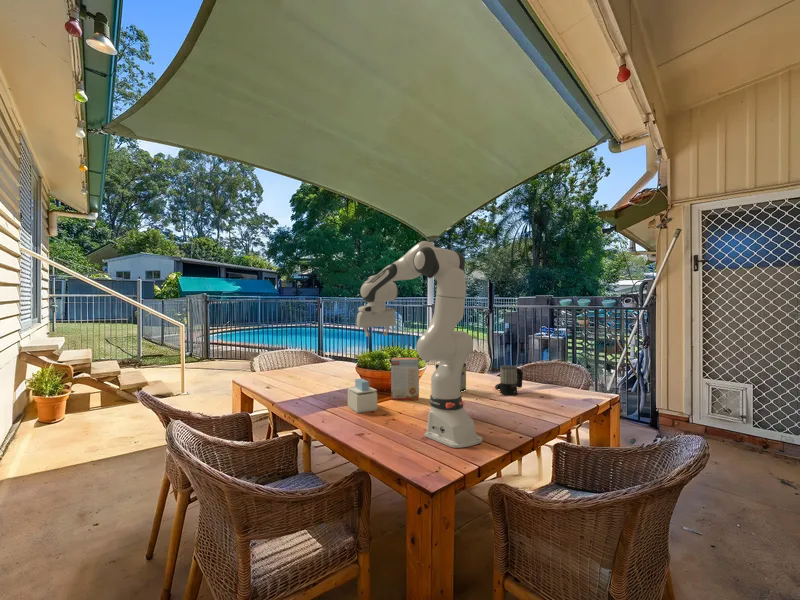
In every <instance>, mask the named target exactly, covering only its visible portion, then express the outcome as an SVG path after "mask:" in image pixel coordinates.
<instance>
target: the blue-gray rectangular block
mask: <svg viewBox="0 0 800 600" xmlns="http://www.w3.org/2000/svg"><path fill="white" fill-rule="evenodd" d="M354 380H355V381H354V383H355V386H354V387H355V388H357V389H359V390H361V391H369V387H370V381H368V380H366V379H365V378H355V379H354Z"/></svg>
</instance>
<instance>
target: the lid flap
mask: <svg viewBox="0 0 800 600" xmlns="http://www.w3.org/2000/svg"><path fill="white" fill-rule="evenodd" d="M347 390H351V391H353V392H355V393H357V394H360V393H367V392H374V391H375V392H377V391H378V390H377V389H376V388H373V387H371V386H369V391H361V390H359V389H357V388H355V386H353V387H348V388H347Z"/></svg>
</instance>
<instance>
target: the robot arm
mask: <svg viewBox="0 0 800 600" xmlns="http://www.w3.org/2000/svg"><path fill="white" fill-rule="evenodd" d="M465 267H466V262H465V257H464V255H463V254H462V253H461V252H459V251H457V250H454V249H447V248H443V247H436V246H435V245H434V244H433V243H432V242H430V241H428V240H423V241H420V242H417V244H415V245H414V246H413V247H411V249H409V250H408V251H407V252H405V254H404V255H403V256H401V257H400V258H399V259H398V260H396V261H394V262H392V263H391V264H388V265H387V266H385V267H384V268H383V269H382V270H380V271H379V272H378V273H376V274H373V275H371V276H369V277H368V279H367V280H365V281H364V282H363V283H362V284H361V287H360V289H359V293H360V294H359V295H360V297H361V298H362V299H363V301H365V302H366V303H367V304H365V305H362V306H359V307H358V309H357V310H358V313H357V315H356V320H355V321H356V323H355V324H356V327H357V328H363V331H364V333H365V337H367V338H368V337H371V336H370V335H371V332H368V328H376V327H378V328H379V327H384V331H383V332H382V335H383V336H388V332H389V330H390V327H395V326H396V324H397V321H396V320H397V319H396V309H394V308H393V307H386V302H393V301H395V300H396V299H397V297H398V295H399V287H398V285H397V284H396V283H395V282H397V281H405V280H406V281H407V280H408V281H409V280H413V279H416V278H419V277H420V276H421V275H423V276H425V277H426V278H428V279H432V278H435V280H436V283H437V284H436V285H437V286H436V293H435V302H434V310H433V315H432V318H431V321H430V323H429V325H428V327H427V328H426V330H425V332H424V333H423V334H422V335H421V336H419V338H418V339H417V343H416V351H417V355H418V357H420V359H421V360H423V361H425V362H431V363H432V362H434V363H436V362H437V363H438V362H439V363H438V364H439V366H438V368H437V369H436V368H435V371H434V372H433V373H432V375H431V378H430V379H431V385H430V386H431V389H430V391H431V393H430V396H429V397H430V398H429V404H430V409H429V412H428V415H427V423H426V431H425V432H424V437H426V438H428V439H430V440H433V441H434V442H435V441H436V442H438V443H440V444H443V445H445V446H448V447H450V448H451V449H452V448H454V449H457V448H459V449H461V448H466V447H471V446H476V445H478V444H480V443H483V441H484V440H483V437H482V436H481V435H479V434H478V433H477V432H476V430H477V429H476V424H475V422H474V419H473V418H471V417H470V415H469V414H468V413H467V411H466V410H465V408H464V405H465V400H463V399H462V396H461V393H460V380H461V373H462V369H463V366H464V363H466V361H467V358H468V357H469V356H470V355H471V354H472V351H473V349H474V340H473V338H472V336H471V335H470V334H469V333H468V332H467V331H466V332H465V331H462V330H455V328H456V326H457V325H458V324H459V323H460V322H461V321H462V320H463V318H464V314H465V313H464V311H465V304H466V303H465V302H466V293H467V292H466V291H467V284H466V274H465V272H464V270H465Z"/></svg>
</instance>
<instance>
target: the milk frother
mask: <svg viewBox="0 0 800 600" xmlns="http://www.w3.org/2000/svg"><path fill="white" fill-rule="evenodd" d="M499 367H500V368H499V369H500V371H499V372H500V383H498V384H495V386H494V389H495V388H496V390H497V389H500V390H499V394H500V393H502V394H504V395H503V396H507V395H514V396H517V395H518V388H520V389H521V388H523V375H524V374H523V370H522V369H521V368H518V366H517V365H512V364H503V365H500V366H499ZM502 394H501V395H502ZM516 394H517V395H516Z"/></svg>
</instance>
